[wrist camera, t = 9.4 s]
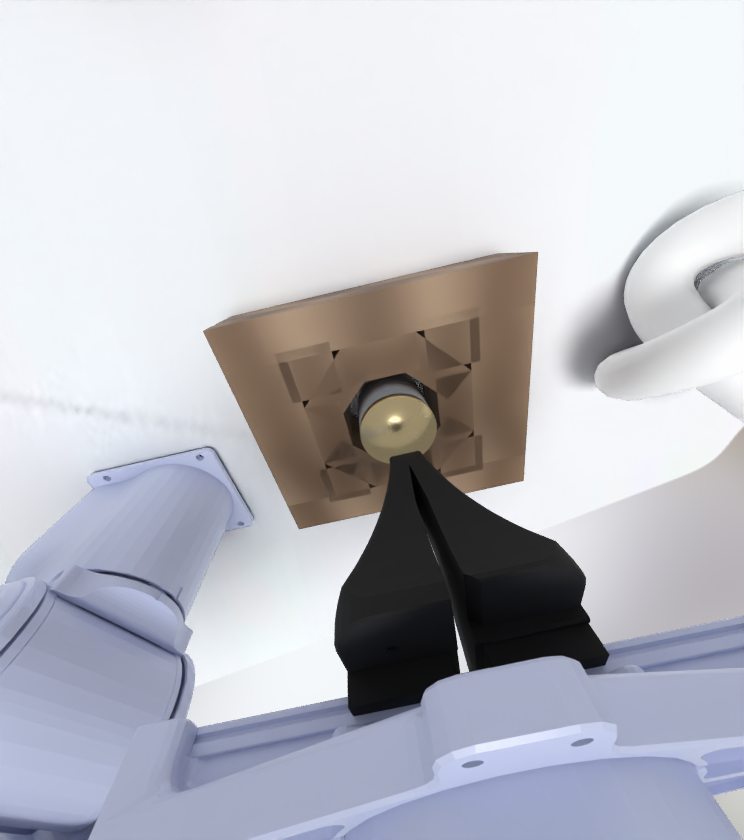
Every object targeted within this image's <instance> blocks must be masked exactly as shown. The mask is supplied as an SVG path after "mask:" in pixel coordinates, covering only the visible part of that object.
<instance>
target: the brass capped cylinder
mask: <svg viewBox="0 0 744 840" xmlns="http://www.w3.org/2000/svg"><path fill="white" fill-rule="evenodd" d="M356 396H357V407H358V417H359V427H360V437H361V442H362V445H363V447H364V449H365V450H366V451H367V453H368V454H369V455H370V456H372V457H373V458H375V459H377V460H379V461H381V462H384V463H389V464H390V461H389V459H390V458H391V457H392V456H397V455H401V454H405V453H410V452H414V451H420V452H421V453H422V454H424V453H425V452H426V451H427V450H428V449H429V448H430V446H431V445H432V443H433V441H434V439H435V436H436V432H437V423H436V419H435V416H434V414H433V413H432V411H431V409H430V407H429V406H428V404H427V402H426V401H425V399H424V397H423V395H422V394H421V392H420V390H419V389H418V387H417V385H416V383H415V382H414V380H413V378H412V377H411V376H410V375H408V374H407V373H401V374H397V375H392V376H388V377H384V378H379V379H375V380H370V381H366V382H364V383H363V385H362V386H361V388H360V389H359V391H358V392H357V394H356Z"/></svg>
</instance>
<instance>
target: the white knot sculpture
mask: <svg viewBox="0 0 744 840" xmlns="http://www.w3.org/2000/svg"><path fill="white" fill-rule="evenodd" d="M738 256H744V190H742V191H739V192H736V193H734V194H731V195H729V196H727V197H724V198H722V199H720V200H717V201H715V202H713V203H710V204H708V205H705V206H704V207H702V208H700V209H698V210H697V211H695V212H693V213H691V214H690V215H688V216H686V217H684V218H683V219H681V220H679V221H677V222H676V223H675V224H673V225H672V226H671V227H670V228H668V229H667V230H666V231H664V232H663V233H662V234H660V235H659V236H658V237H657V238H656V239H655V240H654V241H653V242H652V243H651V244H650V245H649V246H648V247H647V248H646V249H645V250H644V251H643V252H642V253H641V255H640V256H639V258H638V259H637V261H636V262H635V264H634V265H633V267H632V268H631V271H630V273H629V275H628V278H627V280H626V284H625V290H624V304H625V307H626V311H627V314H628V317H629V320H630V323H631V325H632V327H633V329H634V330H635V332H636V334H637V335H638V336H639V338H640V339H641V340H642V341H643V344H641V345H637V346H634V347H631V348H628V349H625V350H622V351H619V352H617V353H614V354H612V355H610V356H609V357H607V358H606V359H605V360H604V361H602V362H601V363H600V364H599V365H598V367H597V369H596V372H595V374H594V379H595V383H596V387H597V388H598V389H599V390H600V391H601V392H602V393H604V394H605V395H606V396H607V397H611V398H615V399H620V400H626V401H631V400H642V399H648V398H654V397H659V396H663V395H668V394H672V393H677V392H681V391H686V390H689V389H693V388H696V389H697V390H698V391H700V392H701V393H702V394H704V395H705V396H707V397H708V398H709V399H711V400H712V401H714V402H715V403H717V404H718V405H720V406H721V407H722V408H723V409H725V410H726V411H727V412H729V413H730V414H731V415H733V416H734V417H736V418H737V419H739V420H741V421H742V422H744V259H742V260H738V261H733V262H730V263H727V264H725V265H723V266H721V267H720V268H718V269H717V270H715V271H714V272H712V273H711V274H709V275H708V276H706V277H705V278H704V279H703V280H702V281H701V283H700V284H699V286H698V288H697V290H696V288H695V286H694V281H695V278H696V276H697V275H698V274H699V273H700V272H701V271H702V270H704V269H706V268H707V267H709V266H711V265H713V264H716V263H718V262H721V261H724V260H727V259H730V258H734V257H738Z"/></svg>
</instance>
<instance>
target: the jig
mask: <svg viewBox="0 0 744 840" xmlns="http://www.w3.org/2000/svg"><path fill="white" fill-rule="evenodd" d="M537 261H538V252H526V253H499V254H494V255H490V256H485V257H481V258H477V259H473V260H469V261H464V262H460V263H456V264H452V265H447V266H443V267H439V268H435V269H431V270H426V271H422V272H418V273H414V274H409V275H405V276H401V277H397V278H392V279H388V280H384V281H380V282H376V283H371V284H367V285H363V286H359V287H354V288H350V289H346V290H342V291H338V292H333V293H329V294H325V295H321V296H316V297H312V298H308V299H304V300H300V301H295V302H291V303H287V304H283V305H278V306H274V307H270V308H266V309H261V310H257V311H253V312H249V313H245V314H240V315H236V316H232V317H230V318H228V319H226V320H224V321H222V322H220V323H218V324H216V325H214V326H212V327H210V328H208V329H206V330H204V331H203V332H204V334H205V336H206V338H207V340H208V342H209V345H210V347H211V349H212V351H213V353H214V355H215V357H216V359H217V361H218V363H219V365H220V367H221V369H222V371H223V373H224V375H225V378H226V380H227V382H228V384H229V386H230V388H231V390H232V392H233V394H234V396H235V398H236V400H237V402H238V404H239V406H240V408H241V411H242V413H243V415H244V417H245V419H246V421H247V423H248V425H249V427H250V429H251V431H252V433H253V435H254V437H255V439H256V441H257V444H258V446H259V448H260V450H261V452H262V454H263V456H264V458H265V460H266V462H267V464H268V466H269V468H270V470H271V472H272V474H273V477H274V479H275V481H276V483H277V485H278V487H279V489H280V491H281V493H282V495H283V497H284V499H285V501H286V503H287V505H288V507H289V509H290V512H291V514H292V516H293V518H294V520H295V522H296V524H297V526H298V528H299V529H303V528H307V527H312V526H316V525H321V524H326V523H330V522H335V521H340V520H344V519H349V518H353V517H358V516H363V515H367V514H372V513H377V512H381V510H382V507H383V503H384V499H385V495H386V491H387V486H388V480H389V472H390V464H389V463H384V462H381V461H379V460H377V459H375V458H373V457H372V456H370V455H369V454H368V453H367V451H366V450H365V449H364V447H363V445H362V442H361V437H360V427H359V419H358V418H356V417H354V416H353V415H351V412H350V409H349V404H350V403H351V401H352V400H353V398H354V397H355V395H356V394H357V392H358V391H359V389H360V388H361V386H362V385H363V383H364V382H366V381H370V380H375V379H379V378H384V377H388V376H392V375H397V374H401V373H407V374H408V375H410V376H412V377H413V378H415V379H416V380H418V381H420V382H421V383H423V391H424V399H425V401H426V402H427V404H428V406H429V407H430V409H431V411H432V413H433V414H434V416H435V419H436V423H437V432H436V436H435V439H434V441H433V443H432V445H431V446H430V448H429V449H428V450H427V451H426V452H425V453H424V454H423V455H424V456H425V458H426V459H427V460H428V461H429V462H430V463H431V464H432V465H433V466H434V467H435V468H436V469H437V470H438V471H439V472H440V473H441V474H442V475H443V476H444V477H445V478H446V479H447V480H448V481H449V482H451V483H452V484H453V485H454V486H455V487H457V488H458V489H459V490H460V491H462V492H463V493H469V492H474V491H478V490H483V489H487V488H492V487H497V486H501V485H506V484H511V483H515V482H520V481H524V465H525V449H526V434H527V418H528V402H529V387H530V371H531V355H532V340H533V324H534V308H535V293H536V277H537Z"/></svg>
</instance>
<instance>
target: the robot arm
mask: <svg viewBox="0 0 744 840" xmlns="http://www.w3.org/2000/svg"><path fill="white" fill-rule="evenodd" d="M199 455H202V456H203V457H200V456H199ZM389 461H390V472H389V480H388V486H387V491H386V495H385V499H384V503H383V507H382V510H381V513H380V516H379V519H378V521H377V524H376V526H375V529H374V531H373V533H372V536H371V538H370V540H369V542H368V544H367V546H366V548H365V550H364V552H363V554H362V555H361V557H360V559H359V561H358V563H357V564H356V566H355V568H354V569H353V571H352V572H351V574H350V575H349V577H348V578H347V580H346V581H345V583H344V584H343V586H342V588H341V592H340V596H339V600H338V605H337V610H336V618H335V641H334V645H335V648H336V652H337V654H338V655H339V657H340V659H341V661H342V662H343V664H344V666H345V668H346V670H347V671H348V697H345V698H340V699H335V700H330V701H325V702H320V703H316V704H310V705H306V706H301V707H296V708H291V709H286V710H281V711H276V712H271V713H267V714H262V715H257V716H252V717H247V718H242V719H238V720H232V721H227V722H223V723H218V724H213V725H208V726H203V727H199V728H197V726H196V725H195V724H194V723H193V722H192V721H191V720H188V719H186V717H187V714H188V710H189V706H190V702H191V699H192V694H193V689H194V682H195V668H194V664H193V661H192V659H191V658H190V657H189V655H188V654H186V653H185V650H186V648H187V645H188V643H189V640H190V638H191V635H192V633H193V631H192V630H191V629H190V628H188V627H187V626H186V625H185V623H184V622H185V620H186V617H187V615H188V613H189V610H190V608H191V606H192V604H193V601H194V599H195V597H196V595H197V592H198V590H199V588H200V585H201V583H202V581H203V579H204V576H205V574H206V572H207V569H208V567H209V565H210V563H211V560H212V558H213V556H214V553H215V551H216V549H217V547H218V544H219V542H220V540H221V537H222V535H223V533H224V531H228V530H232V529H237V528H242V527H246V526H250V525H252V524H253V521H254V518H253V516H252V515H251V513H250V511H249V509H248V508H247V506H246V504H245V503H244V501H243V499H242V497H241V496H240V494H239V492H238V490H237V489H236V487H235V485H234V484H233V482H232V480H231V478H230V477H229V475H228V473H227V472H226V470H225V468H224V466H223V465H222V463H221V461H220V460H219V458H218V456H217V454H216V453H215V451H214V450H213V449H211V448H202V449H198V450H193V451H189V452H184V453H180V454H176V455H171V456H167V457H162V458H158V459H153V460H149V461H144V462H140V463H136V464H131V465H127V466H122V467H118V468H113V469H109V470H105V471H100V472H96V473H92V474H90V475H89V476H88V477H87V482H88V483H89V484H90V485H91V486H92V487H93V490H92V491H90V492H89V493H88V494H87V495H86V496H85V497H84V498H83V499H82V500H81V501H80V502H78V503H77V504H76V505H75V506H74V507H73V508H72V509H71V510H70V511H69V512H68V513H66V514H65V515H64V516H63V517H62V518H61V519H60V520H59V521H58V522H57V523H56V524H54V525H53V526H52V527H51V528H50V529H49V530H48V531H47V532H46V533H45V534H44V535H42V536H41V537H40V538H39V539H38V540H37V541H36V542H35V543H34V544H33V545H32V546H30V547H29V548H28V549H27V550H26V551H25V552H24V553H23V554H22V555H21V556H20V558H19V559H18V560H17V561H16V563H15V564H14V566H13V567H12V569H11V571H10V573H9V575H8V577H7V579H6V582H5V584H3V585H1V586H0V840H743V839H742V838H741V836H740V835H739V833H738V832H737V831H736V829H735V828H734V826H733V825H732V823H731V822H730V820H729V819H728V818H727V816H726V815H725V813H724V812H723V810H722V809H721V807H720V806H719V805H718V803H717V802H716V800H715V799H714V797H713V796H716V795H720V794H724V793H728V792H733V791H737V790H741V789H744V616H739V617H734V618H729V619H724V620H719V621H715V622H710V623H705V624H700V625H695V626H691V627H686V628H681V629H676V630H671V631H666V632H661V633H656V634H651V635H647V636H642V637H637V638H632V639H627V640H623V641H617V642H612V643H608V644H602V643H601V641H600V640H599V638H598V637H597V635H596V634H595V632H594V631H593V629H592V628H591V626H590V625H589V622H590V618H589V616H588V615H587V613H586V611H585V610H584V609H583V607H582V606H581V601H582V597H583V593H584V590H585V585H586V577H585V575H584V574H583V572H582V570H581V569H580V568H579V566H578V565H577V564H576V563H575V561H574V560H573V559H572V558H571V557H570V556H569V555H568V553H567V552H566V551H565V550H564V549H563V548H562V547H561V546H560V545H559V544H558V543H557V542H556V541H553V540H551V539H549V538H546V537H544V536H541V535H539V534H536V533H534V532H531V531H529V530H527V529H524V528H522V527H520V526H518V525H516V524H514V523H512V522H510V521H508V520H506V519H504V518H502V517H500V516H499V515H497V514H495V513H493V512H491V511H490V510H488V509H486V508H485V507H483V506H482V505H480V504H478V503H477V502H476V501H474V500H473V499H471V498H470V497H468V496H467V495H466V494H464V493H463V492H462V491H460V490H459V489H458V488H457V487H455V486H454V485H453V484H452V483H451V482H449V481H448V480H447V479H446V478H445V477H444V476H443V475H442V474H441V473H440V472H439V471H438V470H437V469H436V468H435V467H434V466H433V465H432V464H431V463H430V462H429V461H428V460H427V459H426V458H425V456H424V455H423V454H422V453H421V452H420V451H414V452H410V453H405V454H401V455H397V456H392V457H391V458H390V459H389ZM240 521H242V522H240ZM427 535H428V536H427ZM429 540H430V541H429ZM430 543H431V544H430ZM431 545H432V546H431ZM432 548H433V549H432ZM433 550H434V552H433ZM434 553H435V554H434ZM435 556H436V557H435ZM436 559H437V560H436ZM437 561H438V562H437ZM438 564H439V565H438ZM454 619H455V623H456V626H457V630H458V633H459V636H460V640H461V644H462V647H463V651H464V655H465V658H466V662H467V665H468V669H469V672H466V673H461V674H460V669H459V661H458V654H457V650H458V647H457V639H456V631H455V624H454Z"/></svg>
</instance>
